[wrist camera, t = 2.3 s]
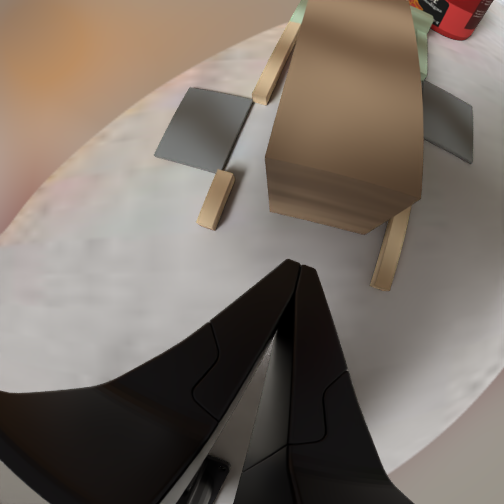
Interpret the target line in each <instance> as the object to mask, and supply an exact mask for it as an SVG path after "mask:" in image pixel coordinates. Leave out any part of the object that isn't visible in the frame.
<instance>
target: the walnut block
mask: <svg viewBox="0 0 504 504" xmlns="http://www.w3.org/2000/svg"><path fill="white" fill-rule="evenodd" d="M265 164H266V174H267V185H268V196H269V207H270V212H274V213H278V214H282V215H286V216H291V217H295V218H299V219H303V220H307V221H311V222H316V223H320V224H324V225H328V226H332V227H336V228H339V229H343V230H347V231H351V232H355V233H359V234H362V235H365V234H367V233H368V232H370V231H372V230H373V229H375V228H376V227H378V226H380V225H381V224H383V223H384V222H386V221H388V220H389V219H391V218H392V217H394V216H395V215H397V214H399V213H400V212H402V211H403V210H405V209H406V208H408V207H409V206H411V205H413V204H414V203H416V202H417V201H419V200H420V199H421V191H422V175H423V102H422V87H421V75H420V65H419V57H418V49H417V42H416V36H415V30H414V24H413V19H412V13H411V9H410V4H409V1H408V0H308V3H307V6H306V10H305V13H304V17H303V20H302V24H301V27H300V31H299V34H298V38H297V41H296V45H295V48H294V52H293V56H292V59H291V63H290V66H289V70H288V74H287V77H286V81H285V85H284V88H283V92H282V95H281V99H280V103H279V107H278V110H277V114H276V118H275V121H274V125H273V129H272V132H271V136H270V140H269V144H268V147H267V151H266V155H265Z"/></svg>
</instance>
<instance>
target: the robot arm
mask: <svg viewBox="0 0 504 504" xmlns="http://www.w3.org/2000/svg"><path fill="white" fill-rule="evenodd" d="M275 333H276V334H275ZM274 335H275V338H274V342H273V346H272V350H271V355H270V360H269V364H268V369H267V373H266V377H265V382H264V386H263V390H262V395H261V399H260V403H259V407H258V411H257V415H256V420H255V424H254V428H253V432H252V436H251V440H250V443H249V447H248V451H247V455H246V459H245V463H244V466H243V470H242V472H243V473H242V474H241V477H240V481H239V485H238V488H237V492H236V495H235V499H234V503H233V504H414V503H413V502H412V501H411V500H410V499H408V498H407V497H406V496H405V495H404V494H403V493H402V492H401V491H400V490H399V489H398V488H397V487H396V486H395V485H394V484H393V483H392V482H391V480H390V479H389V477H388V476H387V474H386V472H385V470H384V468H383V466H382V463H381V461H380V458H379V456H378V453H377V450H376V448H375V445H374V443H373V440H372V437H371V435H370V432H369V430H368V427H367V425H366V422H365V420H364V417H363V414H362V412H361V409H360V406H359V403H358V401H357V397H356V394H355V391H354V388H353V385H352V381H351V378H350V374H349V371H347V369H348V368H347V364H346V361H345V358H344V354H343V351H342V348H341V344H340V341H339V338H338V335H337V332H336V328H335V325H334V322H333V319H332V316H331V313H330V310H329V307H328V304H327V301H326V298H325V295H324V292H323V289H322V286H321V283H320V280H319V277H318V274H317V271H316V269H314V268H312V267H309V266H307V265H300V263H298V262H296V261H293V260H290V259H286V260H285V261H284V262H282V263H281V264H280V265H279V266H277V267H276V268H275V269H274V270H273V271H271V272H270V273H269V274H268V275H266V276H265V277H264V278H263V279H261V280H260V281H259V282H258V283H256V284H255V285H254V286H253V287H251V288H250V289H249V290H248V291H246V292H245V293H244V294H243V295H241V296H240V297H239V298H238V299H236V300H235V301H234V302H233V303H231V304H230V305H229V306H228V307H226V308H225V309H224V310H223V311H221V312H220V313H219V314H217V315H216V316H215V317H214V318H212V319H211V320H210V322H207V323H206V324H204V325H203V326H202V327H201V328H199V329H198V330H197V331H195V332H194V333H193V334H191V335H190V336H188V337H187V338H186V339H184V340H183V341H181V342H180V343H178V344H177V345H175V346H173V347H172V348H170V349H168V350H167V351H165V352H163V353H162V354H160V355H158V356H156V357H154V358H153V359H151V360H149V361H147V362H145V363H144V364H142V365H140V366H138V367H136V368H134V369H133V370H131V371H129V372H127V373H125V374H123V375H121V376H120V377H118V378H116V379H114V380H111V381H109V382H106V383H103V384H100V385H96V386H92V387H85V388H76V389H67V390H57V391H45V392H30V393H8V392H4V391H0V504H213V502H214V500H215V498H216V496H217V494H218V492H219V490H220V488H221V486H222V485H223V483H224V481H225V479H226V477H227V475H228V473H229V470H230V464H229V463H228V462H226V461H224V460H221V459H218V458H215V457H213V456H210V455H207V454H208V453H209V451H210V449H211V448H212V446H213V445H214V443H215V441H216V440H217V438H218V436H219V435H220V433H221V431H222V430H223V428H224V426H225V424H226V423H227V421H228V419H229V418H230V416H231V414H232V413H233V411H234V409H235V407H236V406H237V404H238V402H239V400H240V399H241V397H242V395H243V393H244V391H245V390H246V388H247V386H248V384H249V382H250V381H251V379H252V377H253V375H254V373H255V372H256V370H257V368H258V366H259V364H260V362H261V360H262V359H263V357H264V355H265V353H266V351H267V349H268V347H269V345H270V343H271V341H272V339H273V337H274ZM220 466H223V467H225V468H224V469H223V468H220Z"/></svg>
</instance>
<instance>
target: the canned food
mask: <svg viewBox="0 0 504 504" xmlns="http://www.w3.org/2000/svg"><path fill="white" fill-rule="evenodd" d="M408 1H409V4H410V6H413V7H415V8H417V9H419V10H422V11H424V12H426V13H428V14H430V15H432V16H433V20H434V21H433V23H432V25H431V27H430V28H431V29H433V30H434V31H436V32H438V33H440V34H441V35H444V36H446V37H448V38H451V39H455V40H465V39H466V38H468V37H469V36H471V34H472V33H473V31H474V30H475V28H476V27H477V25H478V24H479V22H480V21H481V19H482V18H483V16H484V14H485V13H486V11H487V10H488V8H489V7H490V5H491V3H492V2H493V0H408Z"/></svg>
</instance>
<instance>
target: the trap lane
mask: <svg viewBox="0 0 504 504" xmlns="http://www.w3.org/2000/svg"><path fill="white" fill-rule="evenodd" d="M307 3H308V0H301V2H300V3H299V5H298V7H297V9H296V11H295V12H294V14H293V16H292V17H291V19H290V21H289V23H288V25H287V26H286V28H285V30H284V32H283V34H282V36H281V38H280V39H279V41H278V43H277V45H276V47H275V49H274V51H273V53H272V55H271V57H270V59H269V61H268V63H267V65H266V66H265V68H264V70H263V72H262V74H261V76H260V78H259V80H258V83H257V85H256V87H255V89H254V91H253V93H252V98H253V100H252V99H248V98H243V97H239V96H234V95H229V94H224V93H219V92H214V91H208V90H203V89H197V88H189V89H188V91H187V93H186V94H185V96H184V98H183V100H182V102H181V103H180V105H179V107H178V109H177V111H176V112H175V114H174V116H173V118H172V120H171V122H170V124H169V126H168V128H167V130H166V131H165V133H164V135H163V137H162V139H161V141H160V143H159V145H158V148H157V150H156V152H155V154H154V156H155V157H158V158H162V159H165V160H169V161H173V162H177V163H180V164H184V165H188V166H191V167H195V168H198V169H202V170H205V171H209V172H212V173H216V175H215V177H214V179H213V182H212V184H211V187H210V189H209V191H208V194H207V196H206V199H205V201H204V204H203V206H202V209H201V211H200V214H199V216H198V219H197V221H196V223H198V224H199V225H200V226H202V227H205V228H208V229H211V230H214V231H215V230H216V227H217V224H218V222H219V219H220V217H221V214H222V211H223V209H224V206H225V204H226V201H227V199H228V196H229V194H230V191H231V189H232V186H233V184H234V181H235V177H234V175H233V173H229V172H226V171H223V168H224V166H225V164H226V161H227V159H228V157H229V154H230V152H231V150H232V148H233V145H234V143H235V141H236V138H237V136H238V134H239V132H240V129H241V127H242V125H243V123H244V121H245V118H246V116H247V114H248V112H249V110H250V108H251V105H252V103H253V102H255V103H259V104H263V105H267V103H268V101H269V99H270V96H271V94H272V92H273V90H274V88H275V85H276V83H277V81H278V79H279V77H280V74H281V72H282V70H283V68H284V66H285V63H286V61H287V59H288V57H289V55H290V53H291V51H292V49H293V46H294V44H295V42H296V40H297V38H298V34H299V31H300V27H301V24H302V20H303V17H304V13H305V10H306V6H307ZM410 9H411V13H412V19H413V24H414V30H415V36H416V42H417V49H418V57H419V65H420V75H421V81H422V82H423V87H422V102H423V139H425V140H427V141H429V142H431V143H433V144H435V145H437V146H439V147H441V148H443V149H445V150H447V151H448V152H450V153H452V154H454V155H456V156H458V157H459V158H461V159H463V160H465V161H466V162H468V163H470V164H471V163H473V111H472V106H471V105H469V104H467V103H466V102H464V101H462V100H461V99H459V98H457V97H455V96H454V95H452V94H450V93H448V92H446V91H445V90H443V89H441V88H439V87H437V86H435V85H433V84H431V83H429V82H427V81H425V80H424V79H425V78H426V76H427V33H428V31H429V29H430V27H431V25H432V23H433V21H434V20H433V16H432V15H430V14H428V13H426V12H424V11H422V10H419V9H417V8H415V7H413V6H410ZM411 206H412V205H411ZM411 206H409V207H408V208H406V209H405V210H403V211H402V212H400V213H399V214H397V215H395V216H394V217H392V218H391V219H389V220H388V224H387V228H386V232H385V235H384V239H383V243H382V246H381V250H380V254H379V257H378V260H377V264H376V267H375V270H374V274H373V277H372V280H371V283H370V286H371V287H374V288H377V289H379V290H382V291H390V288H391V284H392V281H393V278H394V274H395V271H396V267H397V264H398V260H399V257H400V253H401V249H402V245H403V241H404V237H405V233H406V229H407V224H408V220H409V215H410V211H411Z"/></svg>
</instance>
